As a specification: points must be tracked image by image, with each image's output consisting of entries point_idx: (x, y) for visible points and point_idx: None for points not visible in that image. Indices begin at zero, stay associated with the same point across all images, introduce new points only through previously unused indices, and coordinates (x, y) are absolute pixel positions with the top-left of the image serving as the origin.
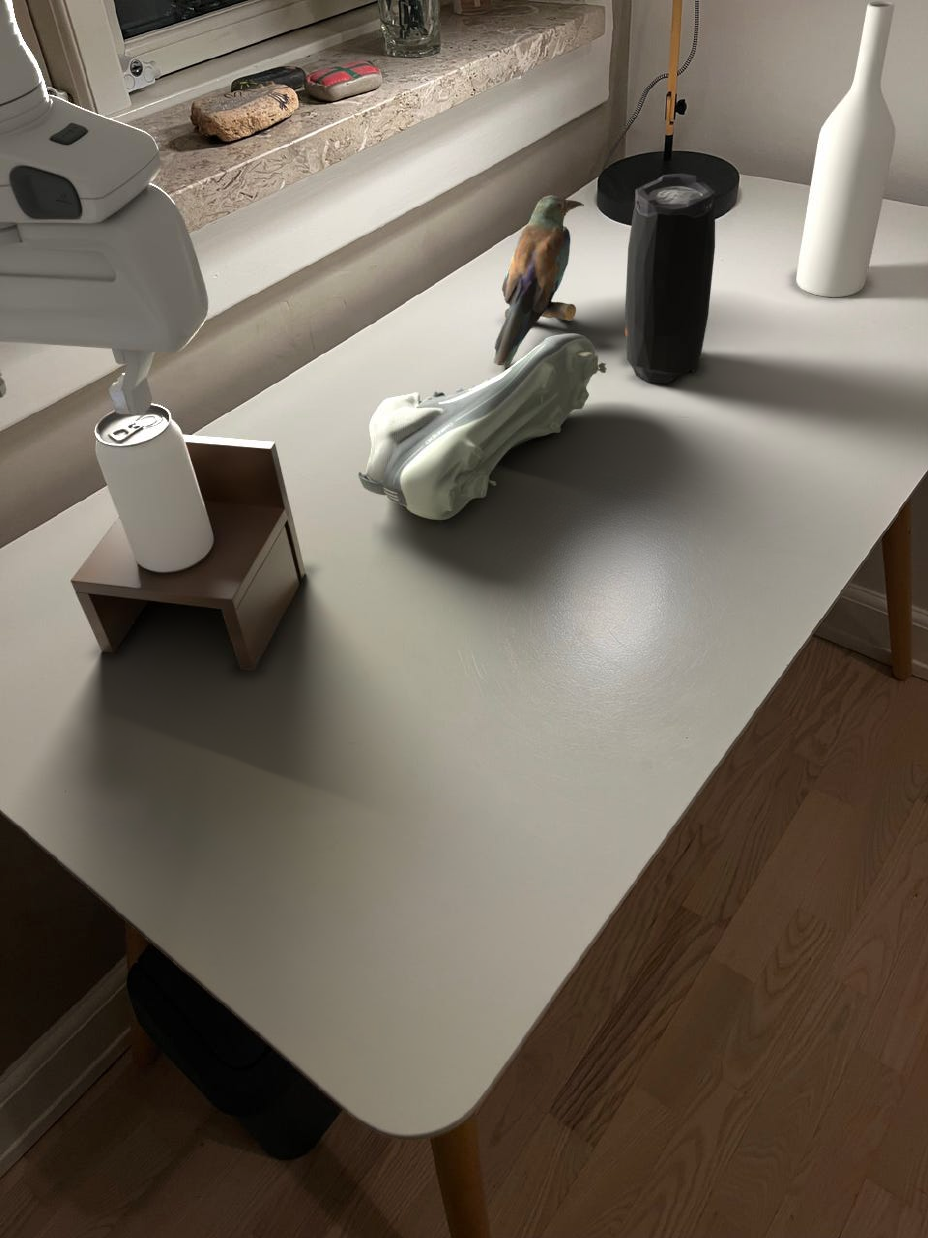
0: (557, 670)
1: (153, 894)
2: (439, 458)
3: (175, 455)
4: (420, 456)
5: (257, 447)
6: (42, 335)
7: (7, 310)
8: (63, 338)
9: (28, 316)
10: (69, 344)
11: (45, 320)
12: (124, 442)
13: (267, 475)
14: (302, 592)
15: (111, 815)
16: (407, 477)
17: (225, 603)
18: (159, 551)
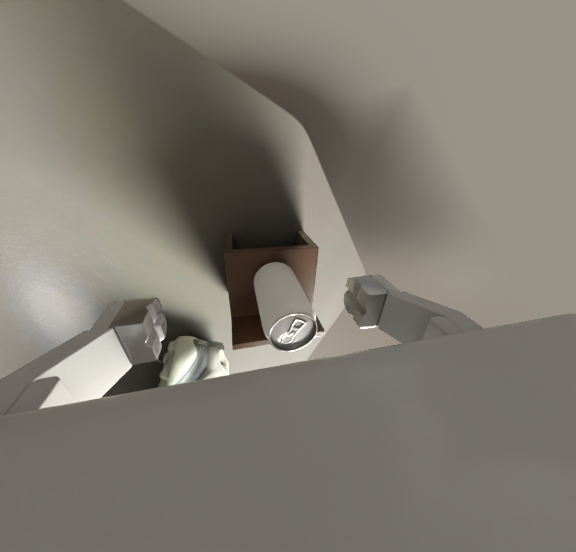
0: (63, 268)
1: (196, 70)
2: (174, 366)
3: (262, 320)
4: (187, 364)
5: (240, 344)
6: (194, 403)
7: (296, 470)
8: (126, 412)
9: (218, 467)
10: (120, 396)
11: (149, 471)
12: (291, 318)
13: (237, 331)
14: (226, 284)
15: (249, 127)
16: (191, 352)
17: (228, 251)
18: (271, 269)
